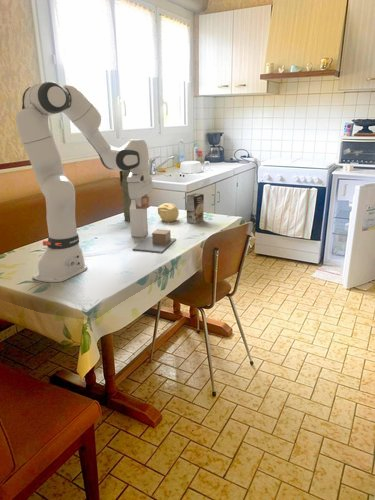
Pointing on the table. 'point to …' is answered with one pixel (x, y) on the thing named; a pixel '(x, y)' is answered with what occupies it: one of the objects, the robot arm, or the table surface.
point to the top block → (143, 203)
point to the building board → (152, 246)
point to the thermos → (125, 193)
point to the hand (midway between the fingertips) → (142, 204)
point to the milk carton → (138, 221)
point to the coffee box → (195, 208)
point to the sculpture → (168, 212)
